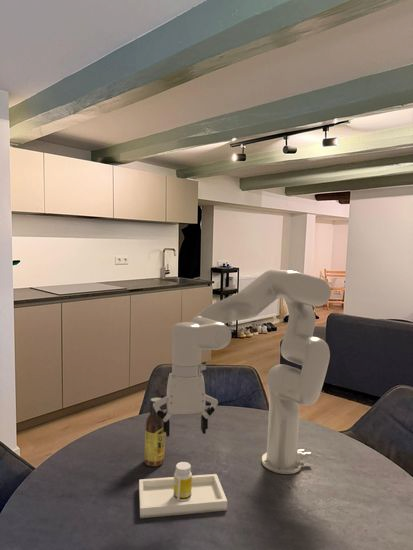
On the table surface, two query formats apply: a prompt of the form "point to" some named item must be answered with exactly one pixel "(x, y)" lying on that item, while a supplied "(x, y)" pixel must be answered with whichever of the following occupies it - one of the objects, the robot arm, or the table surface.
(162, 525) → the table surface
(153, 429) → the sauce bottle
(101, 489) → the table surface
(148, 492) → the tray
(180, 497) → the supplement bottle
